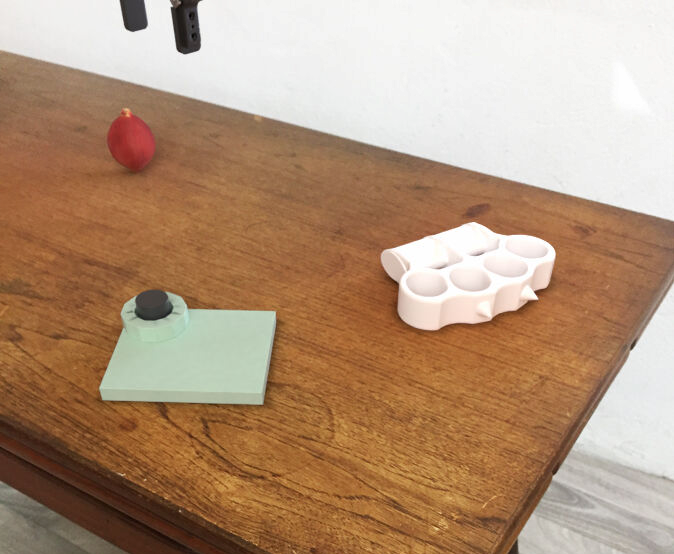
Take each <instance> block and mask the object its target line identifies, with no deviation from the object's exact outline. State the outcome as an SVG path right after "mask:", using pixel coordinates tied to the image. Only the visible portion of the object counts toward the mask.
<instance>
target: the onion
mask: <svg viewBox="0 0 674 554" xmlns="http://www.w3.org/2000/svg"><path fill="white" fill-rule="evenodd" d="M106 137H107V138H106V143H107V148H108V150H109V153H110V155H111V157H112V158H113V159H114V161H115V162H117V163H118V164H119V165H121V166H123V167H124V168H127V169H128V170H130V171H131V172H133V173H135V174H138V173H140V172H142V170H143V169H144V168H146V166H148V164H150V162H151V161H152V159H153V157H154V155H155V153H156V150H157V149H156V144H157V142H156V138H155V135H154V134H153V131H152V129H151V127H150V126H149V125H148V123H147V122H146V121H144V120H143V119H142V118H141V117H140V116H137V115H135V114H133V113H132V112H131V110H130V109H129V108H125V107H124V108H122V109H121V111H120V115H119V116H117V117H116V118H115V119H114V120H113V121H112V122H111V125H110V126H109V129H108V131H107V135H106Z"/></svg>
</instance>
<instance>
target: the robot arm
mask: <svg viewBox="0 0 674 554" xmlns="http://www.w3.org/2000/svg"><path fill="white" fill-rule="evenodd" d="M169 2H170V4H171V6H170V14H171V21H172V27H173V35H174V43H175V49H176V51H177V53H180V54H181V55H189V54H193V53H197V52H199V51H200V49H201V48H202V35H201V28H200V18H199V11H198V6H199V3H200V2H203V0H169ZM119 5H120V11H121V16H122V22H123V27H124V29H125V30H126V31H128V32H131V33H135V32H139V31H143V30H146V29H147V28H148V27H149V21H148V14H147V8H146V2H145V0H119Z"/></svg>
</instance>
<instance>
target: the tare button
mask: <svg viewBox="0 0 674 554" xmlns="http://www.w3.org/2000/svg"><path fill="white" fill-rule="evenodd" d="M165 292H166V291H164V290H162V289H147V290H144V291H142V292H140V293H138V294H137V295H136V296H137V297H136V299H135V303H136V307H137V312H138V316H139V317H140V318H141V319H142V320H145V321H156V320H159V319H163V318H166V317H167V316H168V315H169V314H170V312H171V309H170V304H169V298H168V295H167V294H166V293H165Z"/></svg>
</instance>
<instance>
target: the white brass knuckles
mask: <svg viewBox="0 0 674 554" xmlns="http://www.w3.org/2000/svg"><path fill="white" fill-rule="evenodd" d="M460 225H461V226H458V227H455V228H451V229H449V230H446V231H442V232H440V233H436V234H432V235H427V236H424V237H422V238H421V239H418V240H415V241H412V242H409V243H408V242H407V243H406V244H402V245H399V246H396V247H393V248H388V249H384V250H383V251H382V252H381V254H380V263H381V265H382V268H383V269H384V271H385V272H386V273H387V275H388V276H389V277H390V278H391V279H392V280H393V281H395V282H397V284H398V294H397V314H398V316H399V317H400V319H401V320H402V321H403V322H404V323H405V324H407V325H409V327H410V326H411V327H412V328H415V329H417V330H423V331H438V330H440V329H441V328H443V327H446V326H449V325H453V324H454V325H455V324H468V325H475V324H481V323H486V322H491V321H492V319H493V318H494V317H496V316H497V315H499V314H502V313H506V312H516V311H518V310H519V309H521V308H522V307H523V306H525V304H527V303H528V301H537V300H538V301H539V300H540V299H539V298H538V296H537V295H536V293H535V292H536V291H539V290H542V289H543V290H544V289H547V287H548V286H549V284H550V282H551V277H552V273H553V269H554V265H555V261H556V251H555V249H554V247H553V246H552V245H551V244H550V243H549V242H547V241H545V240H543V239H541V238H539V237H536V236H532V235H526V234H512V235H503V234H499V233H496V232H494V231H492V230H491V229H489V228H488V227H486V226H484V225H483V224H479V223H477V222H474V221H473V222H468V223H464V224H460Z"/></svg>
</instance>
